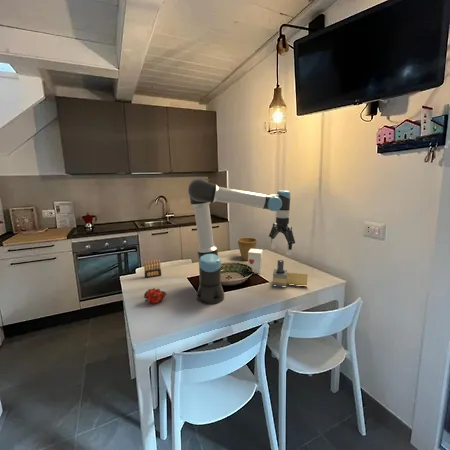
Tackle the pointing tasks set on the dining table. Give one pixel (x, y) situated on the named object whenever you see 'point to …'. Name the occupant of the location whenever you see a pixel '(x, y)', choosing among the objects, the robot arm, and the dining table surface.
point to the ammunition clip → (152, 269)
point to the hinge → (289, 278)
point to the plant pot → (246, 246)
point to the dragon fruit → (154, 295)
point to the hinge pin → (280, 266)
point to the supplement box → (255, 259)
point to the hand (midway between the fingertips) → (280, 251)
